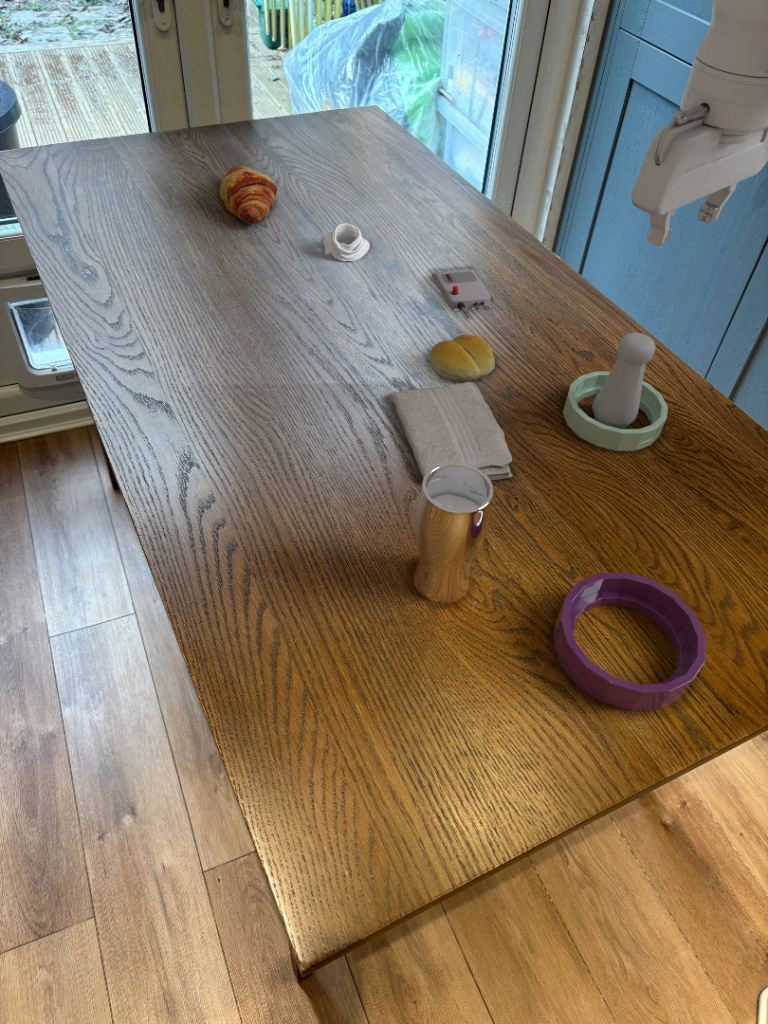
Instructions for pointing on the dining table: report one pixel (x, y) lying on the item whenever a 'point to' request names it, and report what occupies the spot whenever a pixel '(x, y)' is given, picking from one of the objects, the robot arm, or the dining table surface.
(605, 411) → the grey pawn peg
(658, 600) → the purple bangle bracelet
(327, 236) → the white ruffled cup
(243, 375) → the dining table surface
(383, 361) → the dining table surface
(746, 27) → the robot arm
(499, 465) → the washcloth
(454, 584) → the shiny metal tumbler
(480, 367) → the bread roll
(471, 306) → the grey electronic control box
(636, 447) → the green faceted bangle
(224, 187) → the croissant
